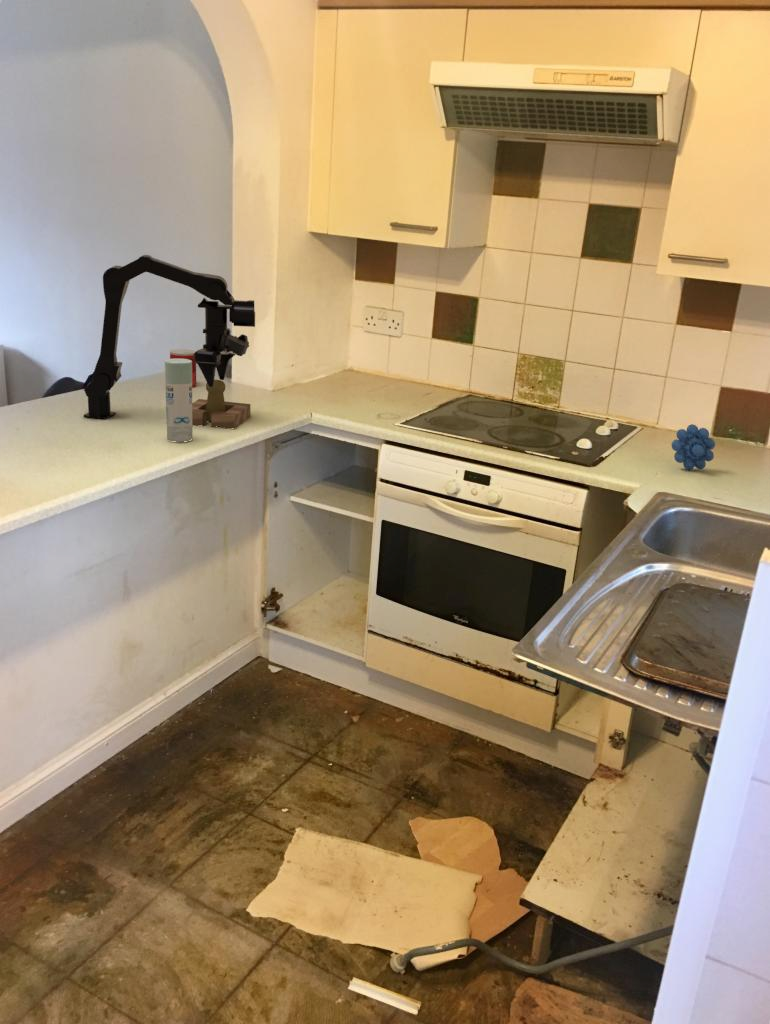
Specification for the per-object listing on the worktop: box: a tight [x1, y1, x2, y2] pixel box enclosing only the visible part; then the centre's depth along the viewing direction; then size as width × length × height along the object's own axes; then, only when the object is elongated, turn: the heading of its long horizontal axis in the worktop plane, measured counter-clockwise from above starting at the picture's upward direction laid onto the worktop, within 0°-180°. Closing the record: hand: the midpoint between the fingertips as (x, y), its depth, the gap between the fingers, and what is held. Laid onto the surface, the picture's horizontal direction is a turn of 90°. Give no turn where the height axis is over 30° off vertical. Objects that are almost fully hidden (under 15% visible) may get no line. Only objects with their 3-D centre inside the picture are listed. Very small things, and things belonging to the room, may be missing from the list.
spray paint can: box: [164, 358, 193, 442], centre depth 216 cm, size 6×6×20 cm
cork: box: [205, 379, 226, 421], centre depth 238 cm, size 6×6×11 cm
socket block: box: [192, 398, 251, 429], centre depth 239 cm, size 15×15×4 cm
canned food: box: [169, 348, 197, 388], centre depth 274 cm, size 8×8×11 cm
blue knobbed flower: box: [670, 423, 716, 471], centre depth 221 cm, size 12×7×12 cm, turn 95°
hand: (216, 383), depth 236 cm, fingers open, 9 cm apart
